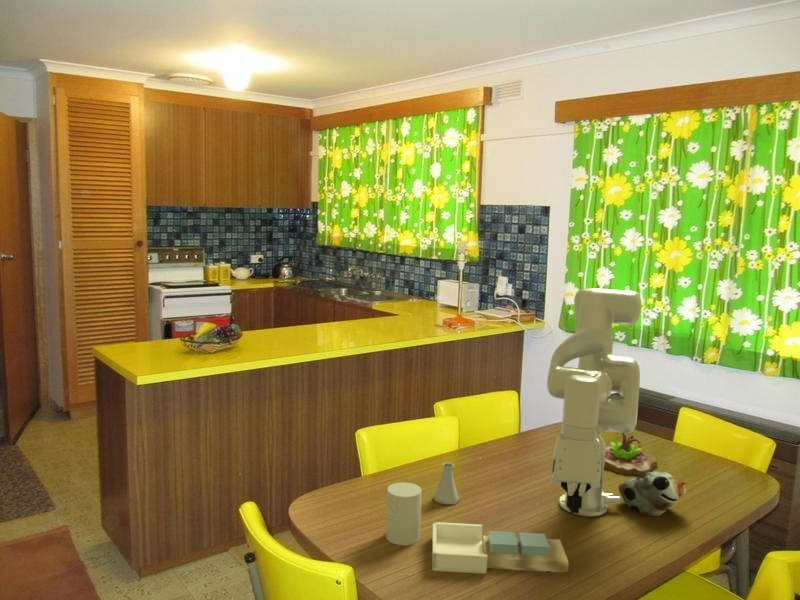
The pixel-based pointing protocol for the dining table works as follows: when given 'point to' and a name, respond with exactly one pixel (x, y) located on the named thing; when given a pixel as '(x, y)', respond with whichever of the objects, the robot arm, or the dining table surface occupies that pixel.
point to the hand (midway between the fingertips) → (573, 510)
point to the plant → (628, 458)
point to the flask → (446, 487)
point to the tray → (458, 548)
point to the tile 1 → (502, 542)
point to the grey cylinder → (403, 513)
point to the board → (529, 558)
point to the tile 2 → (533, 544)
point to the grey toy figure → (652, 492)
